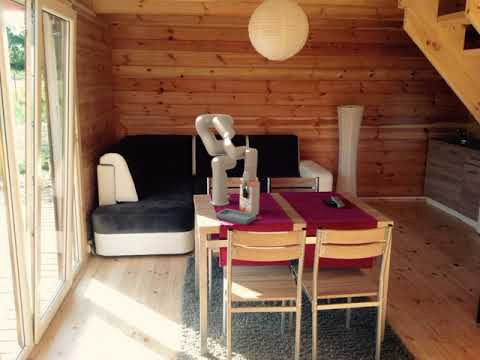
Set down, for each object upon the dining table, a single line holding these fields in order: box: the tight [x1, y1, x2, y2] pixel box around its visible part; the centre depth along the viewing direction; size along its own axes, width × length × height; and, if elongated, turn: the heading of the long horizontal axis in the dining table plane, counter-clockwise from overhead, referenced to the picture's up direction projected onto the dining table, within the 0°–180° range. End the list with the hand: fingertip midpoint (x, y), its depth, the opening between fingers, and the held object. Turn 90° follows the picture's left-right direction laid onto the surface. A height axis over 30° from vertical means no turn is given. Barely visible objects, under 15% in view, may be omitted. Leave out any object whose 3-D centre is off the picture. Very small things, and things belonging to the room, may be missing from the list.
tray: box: [215, 208, 257, 226], centre depth 269 cm, size 12×21×3 cm, turn 59°
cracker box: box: [239, 177, 261, 216], centre depth 280 cm, size 14×6×21 cm, turn 31°
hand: (248, 196), depth 280 cm, fingers open, 8 cm apart
